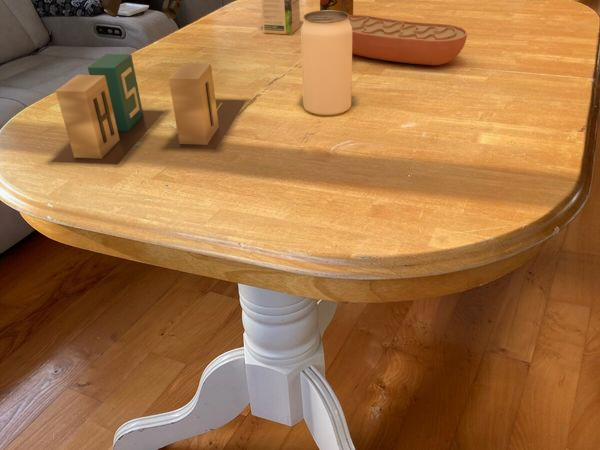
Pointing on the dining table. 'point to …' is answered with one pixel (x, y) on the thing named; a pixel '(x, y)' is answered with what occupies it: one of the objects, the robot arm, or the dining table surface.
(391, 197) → the dining table surface
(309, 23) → the can
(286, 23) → the syrup box
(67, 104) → the block
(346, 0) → the condiment
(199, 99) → the slotted tan block
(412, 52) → the orange elongated oval dish
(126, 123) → the green alphabet block
